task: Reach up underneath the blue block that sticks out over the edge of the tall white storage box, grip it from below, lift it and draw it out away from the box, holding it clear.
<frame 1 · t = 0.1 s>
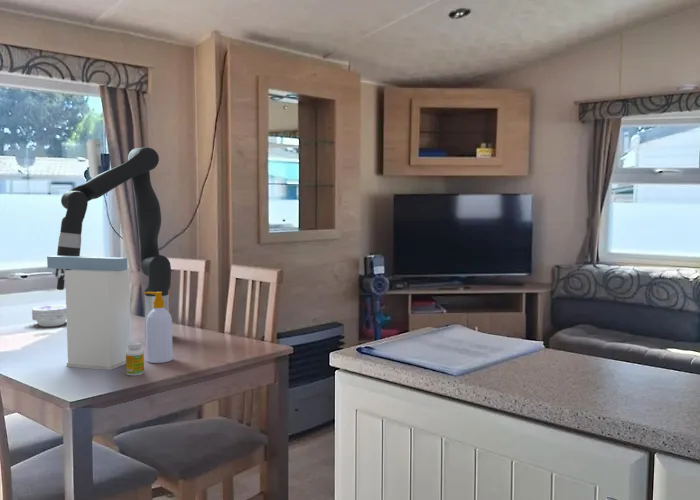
hand: (64, 290, 239), 22 cm above the table, tool pointing down, fingers open, 8 cm apart
storage box: (100, 363, 224), on the table
soap bottle: (158, 360, 229), on the table
paper bowls: (51, 325, 290), on the table
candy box: (100, 328, 284), on the table
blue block: (87, 269, 223), point 32 cm above the table, touching storage box
supplement bottle: (135, 374, 212), on the table
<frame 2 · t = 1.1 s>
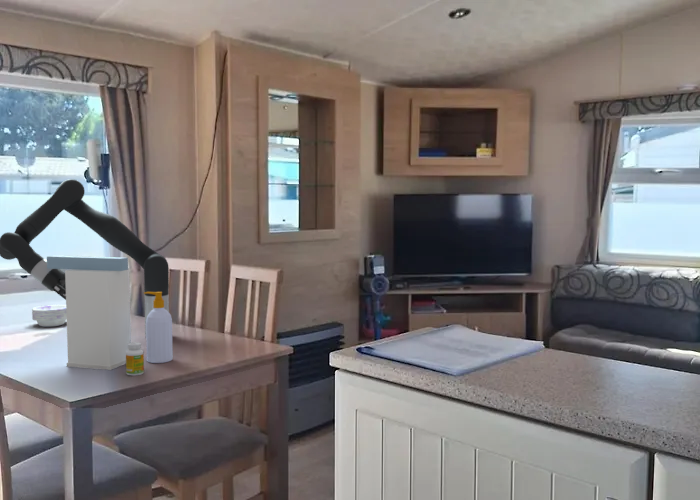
hand: (86, 303, 232), 19 cm above the table, tool tilted 50°, fingers open, 8 cm apart
nothing on the table moved.
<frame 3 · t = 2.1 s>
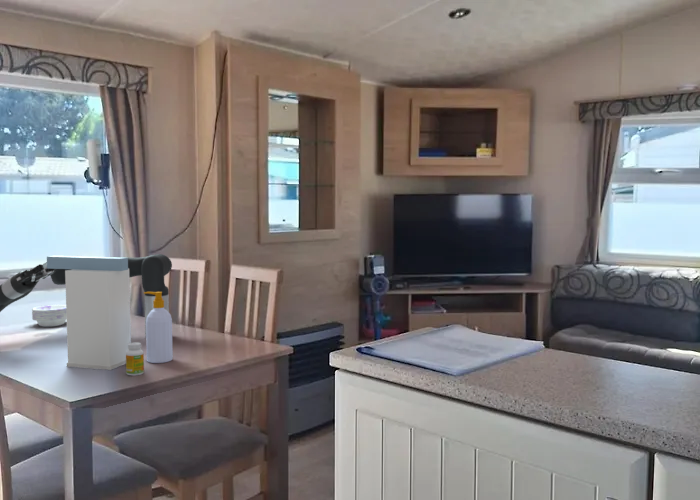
hand: (50, 265, 241), 31 cm above the table, tool pointing upward, fingers open, 8 cm apart
nothing on the table moved.
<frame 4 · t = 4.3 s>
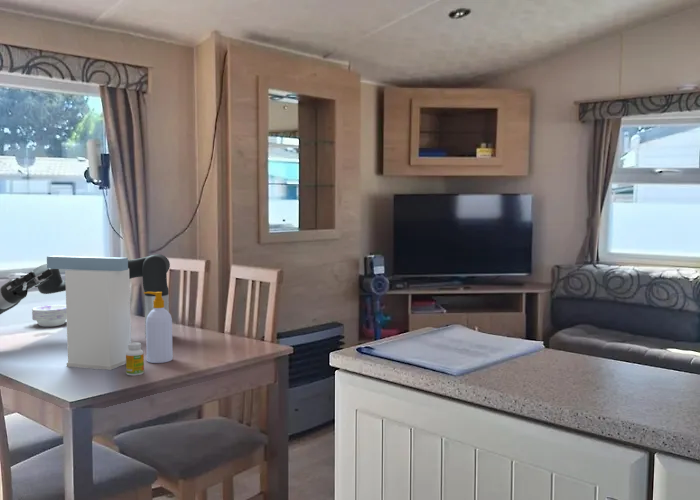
hand: (42, 272, 227), 30 cm above the table, tool pointing upward, fingers open, 8 cm apart
nothing on the table moved.
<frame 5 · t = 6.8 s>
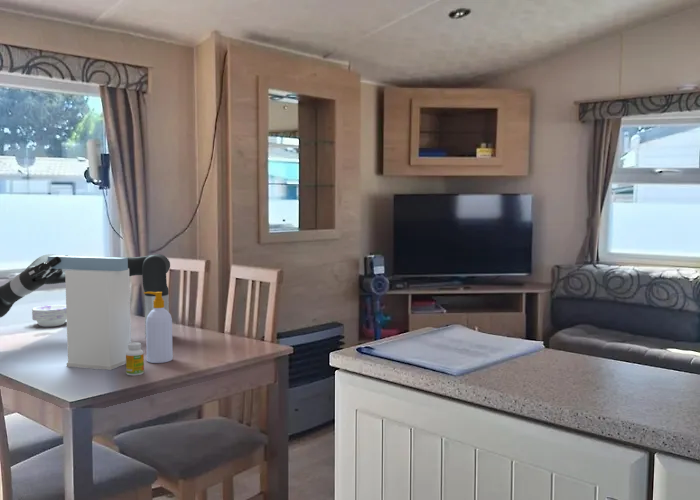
hand: (64, 258, 225), 35 cm above the table, tool pointing upward, fingers closed on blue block, 4 cm apart
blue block: (87, 269, 223), point 32 cm above the table, touching gripper, storage box
everything else where it was.
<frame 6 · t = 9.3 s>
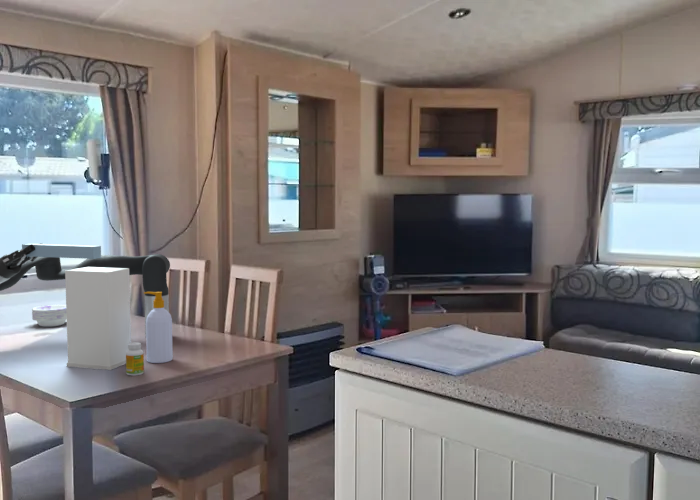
hand: (38, 246, 227), 39 cm above the table, tool pointing upward, fingers closed on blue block, 4 cm apart
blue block: (61, 256, 225), point 36 cm above the table, touching gripper
everything else where it was.
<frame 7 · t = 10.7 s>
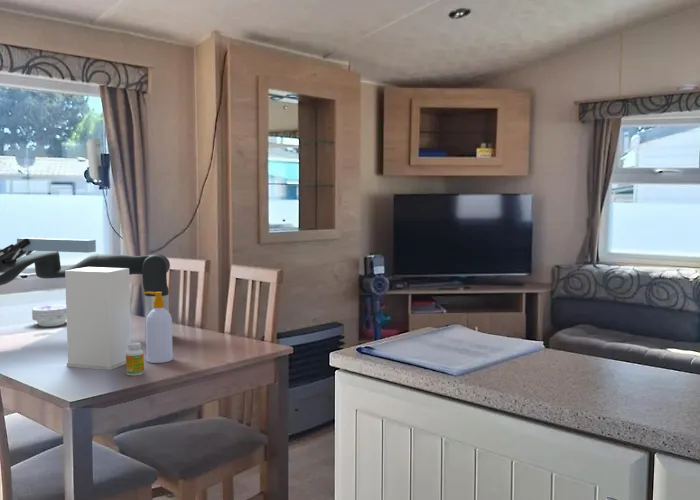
hand: (33, 240, 227), 41 cm above the table, tool pointing upward, fingers closed on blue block, 4 cm apart
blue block: (56, 250, 225), point 38 cm above the table, touching gripper
everything else where it was.
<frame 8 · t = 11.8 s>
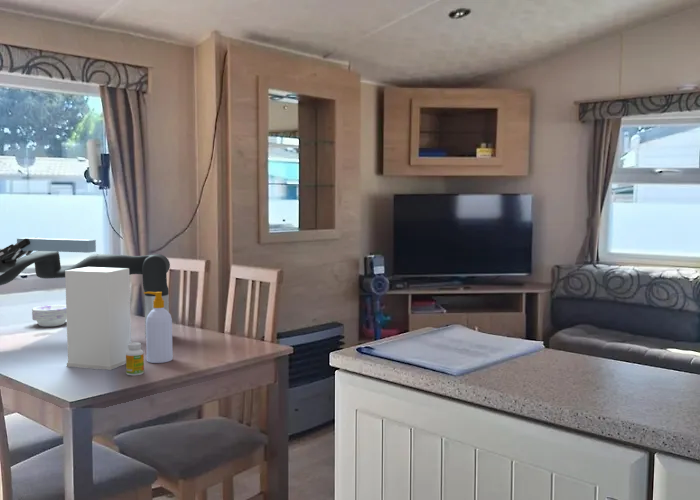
hand: (33, 240, 227), 41 cm above the table, tool pointing upward, fingers closed on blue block, 4 cm apart
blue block: (56, 250, 225), point 38 cm above the table, touching gripper
everything else where it was.
at the end: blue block moved 13.2 cm from its start; the gripper is holding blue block; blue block touching gripper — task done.
